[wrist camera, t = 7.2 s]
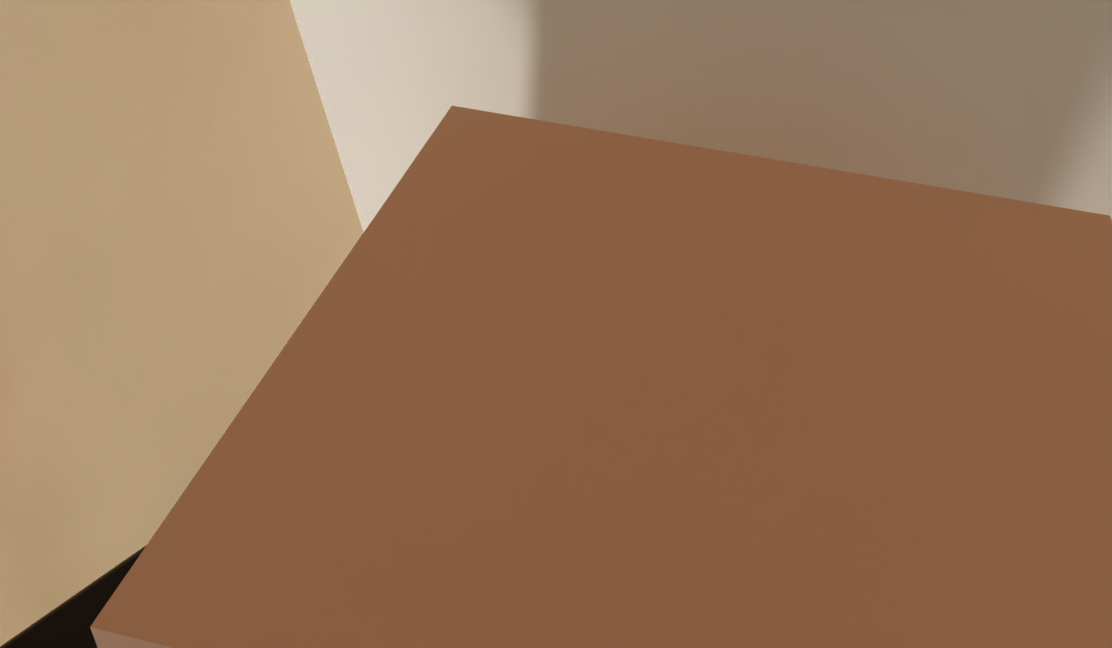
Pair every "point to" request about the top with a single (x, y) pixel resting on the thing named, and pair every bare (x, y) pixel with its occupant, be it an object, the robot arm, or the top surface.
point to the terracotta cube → (663, 418)
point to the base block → (739, 83)
